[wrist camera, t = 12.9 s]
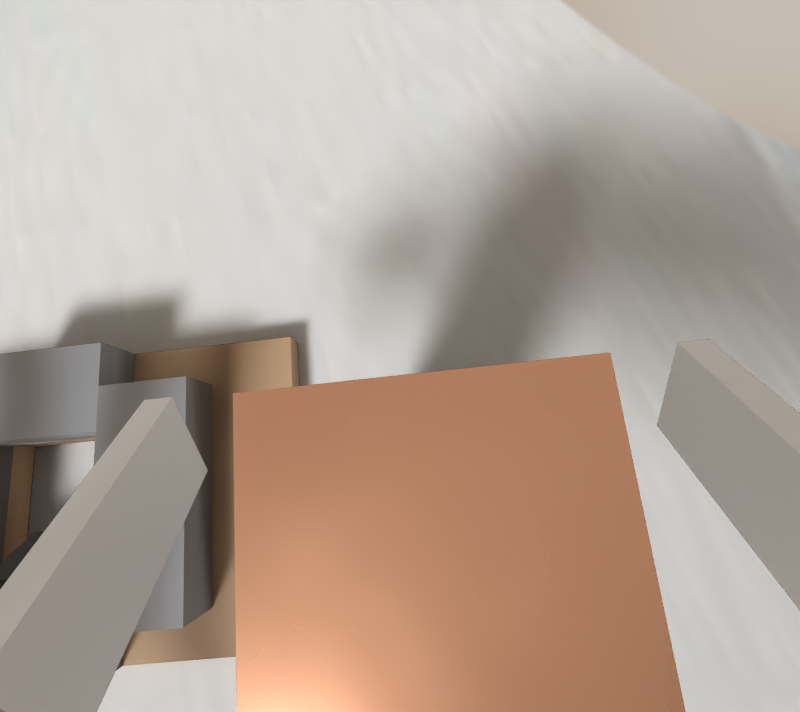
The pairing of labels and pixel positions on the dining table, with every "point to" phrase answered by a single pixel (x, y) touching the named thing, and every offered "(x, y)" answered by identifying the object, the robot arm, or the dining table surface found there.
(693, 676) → the dining table surface
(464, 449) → the grey orange-ended block
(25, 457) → the board
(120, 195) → the dining table surface
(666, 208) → the dining table surface
